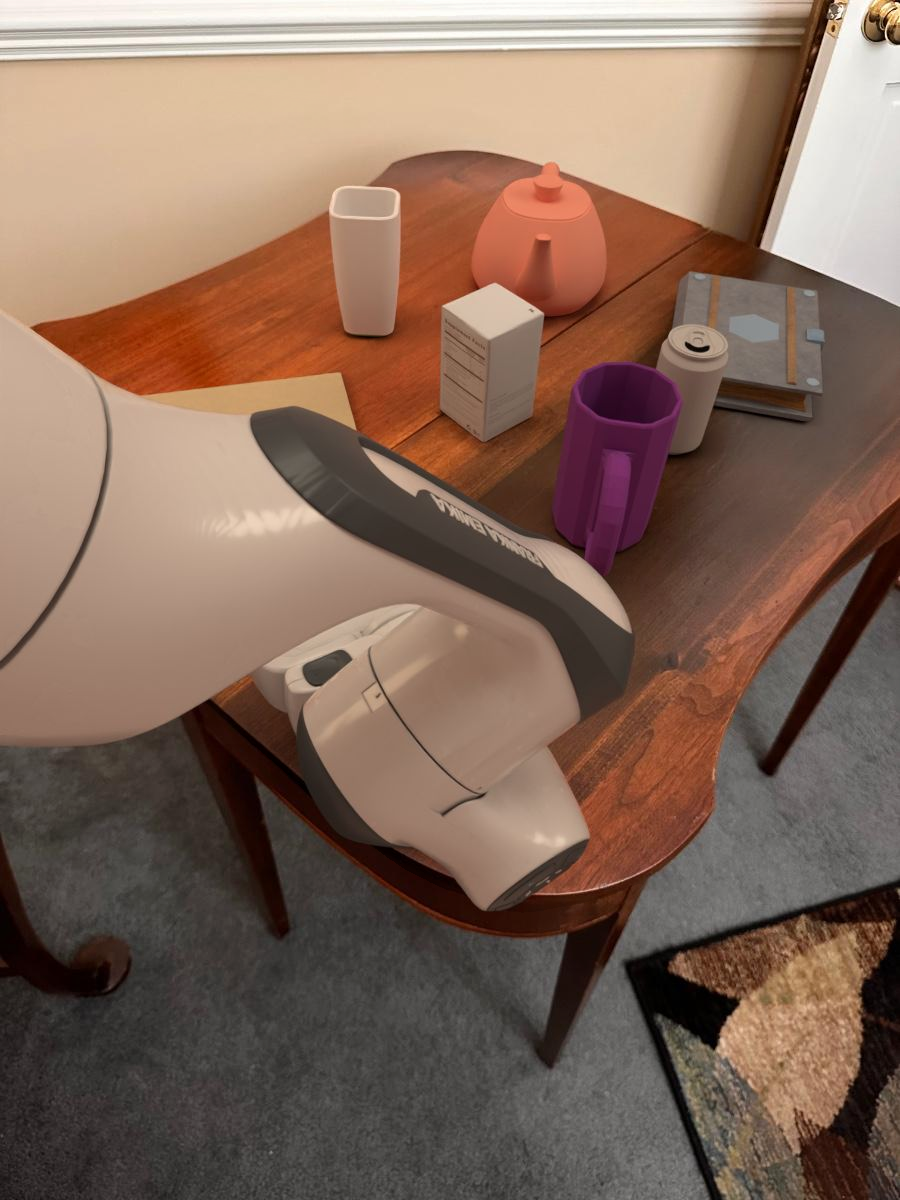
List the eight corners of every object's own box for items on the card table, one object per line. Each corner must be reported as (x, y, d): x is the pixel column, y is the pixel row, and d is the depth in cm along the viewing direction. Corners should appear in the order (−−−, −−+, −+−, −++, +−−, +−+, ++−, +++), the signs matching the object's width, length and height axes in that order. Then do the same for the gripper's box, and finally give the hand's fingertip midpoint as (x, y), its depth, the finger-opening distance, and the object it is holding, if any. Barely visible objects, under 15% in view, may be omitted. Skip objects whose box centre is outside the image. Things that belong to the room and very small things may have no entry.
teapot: (600, 352, 101) (621, 242, 91) (458, 338, 102) (463, 227, 92) (603, 247, 117) (621, 143, 107) (480, 235, 118) (486, 131, 108)
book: (674, 300, 109) (684, 263, 105) (809, 322, 107) (823, 284, 103) (659, 399, 96) (669, 360, 92) (812, 425, 94) (829, 387, 90)
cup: (398, 344, 101) (397, 219, 90) (336, 341, 101) (326, 216, 90) (402, 310, 106) (401, 187, 95) (342, 307, 106) (334, 184, 94)
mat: (118, 517, 82) (117, 514, 81) (117, 401, 93) (116, 398, 92) (370, 481, 86) (370, 478, 86) (340, 374, 97) (340, 371, 97)
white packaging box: (488, 384, 97) (496, 279, 87) (533, 418, 93) (547, 312, 83) (436, 409, 94) (439, 303, 84) (481, 445, 90) (490, 338, 80)
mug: (647, 495, 86) (683, 366, 74) (643, 615, 76) (684, 487, 64) (555, 483, 87) (576, 353, 75) (539, 600, 77) (561, 471, 65)
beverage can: (636, 452, 90) (661, 352, 81) (642, 415, 94) (667, 316, 85) (698, 463, 89) (731, 364, 80) (701, 425, 93) (733, 326, 84)
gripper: (559, 589, 58) (463, 464, 66) (266, 700, 51) (198, 547, 59) (548, 646, 63) (460, 524, 71) (278, 754, 56) (214, 606, 64)
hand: (338, 535), depth 65 cm, fingers closed on tumbler, 6 cm apart
